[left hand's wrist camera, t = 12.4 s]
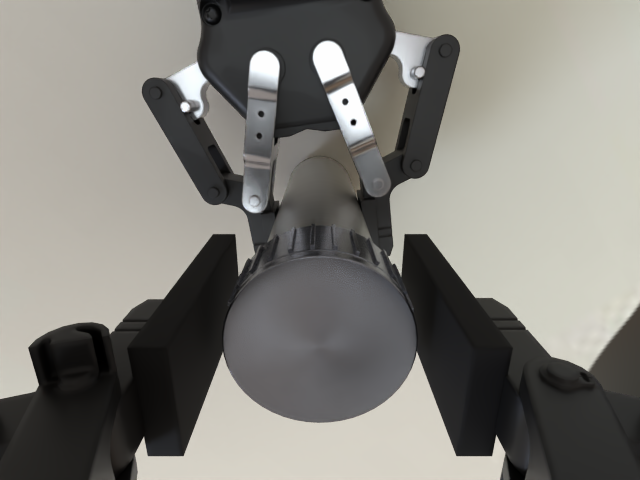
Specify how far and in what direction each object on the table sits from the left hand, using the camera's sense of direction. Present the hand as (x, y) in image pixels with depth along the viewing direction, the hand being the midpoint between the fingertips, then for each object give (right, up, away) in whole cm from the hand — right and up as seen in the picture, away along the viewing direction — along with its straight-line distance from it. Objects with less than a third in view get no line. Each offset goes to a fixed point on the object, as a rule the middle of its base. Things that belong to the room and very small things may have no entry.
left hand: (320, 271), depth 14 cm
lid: (0, -1, -4) cm, 4 cm away
